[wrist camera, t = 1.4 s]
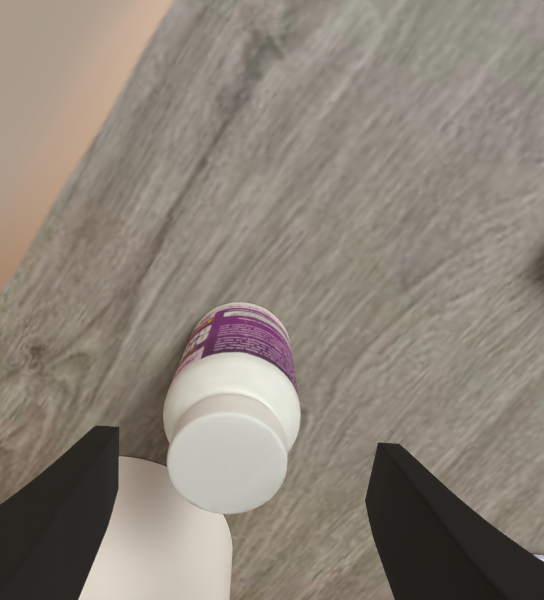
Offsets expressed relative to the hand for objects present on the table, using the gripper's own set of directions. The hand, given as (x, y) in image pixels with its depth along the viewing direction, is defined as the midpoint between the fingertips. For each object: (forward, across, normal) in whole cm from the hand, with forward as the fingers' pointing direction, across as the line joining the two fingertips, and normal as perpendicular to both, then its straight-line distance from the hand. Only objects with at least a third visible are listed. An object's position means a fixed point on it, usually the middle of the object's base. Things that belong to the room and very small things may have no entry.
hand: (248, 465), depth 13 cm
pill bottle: (+12, 0, +2) cm, 12 cm away
